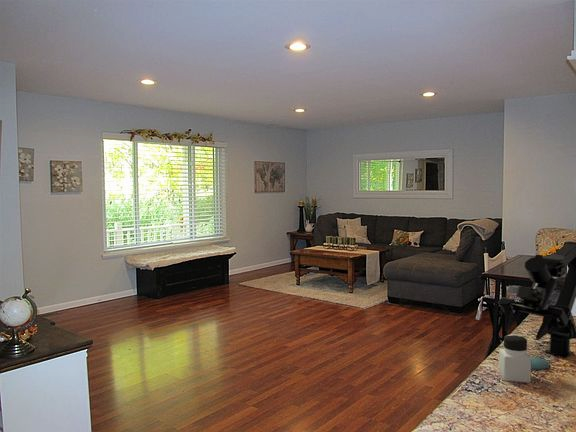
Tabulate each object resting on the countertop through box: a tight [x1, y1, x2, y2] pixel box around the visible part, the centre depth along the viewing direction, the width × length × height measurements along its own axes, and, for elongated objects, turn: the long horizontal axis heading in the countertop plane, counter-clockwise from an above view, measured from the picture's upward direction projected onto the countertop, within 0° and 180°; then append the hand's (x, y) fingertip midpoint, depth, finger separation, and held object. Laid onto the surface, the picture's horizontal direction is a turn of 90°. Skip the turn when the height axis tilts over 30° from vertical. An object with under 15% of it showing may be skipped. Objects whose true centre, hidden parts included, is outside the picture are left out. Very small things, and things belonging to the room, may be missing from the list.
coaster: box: [529, 355, 550, 371], centre depth 151 cm, size 10×10×1 cm
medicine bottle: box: [498, 334, 532, 384], centre depth 140 cm, size 7×7×12 cm
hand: (520, 334), depth 142 cm, fingers open, 9 cm apart
